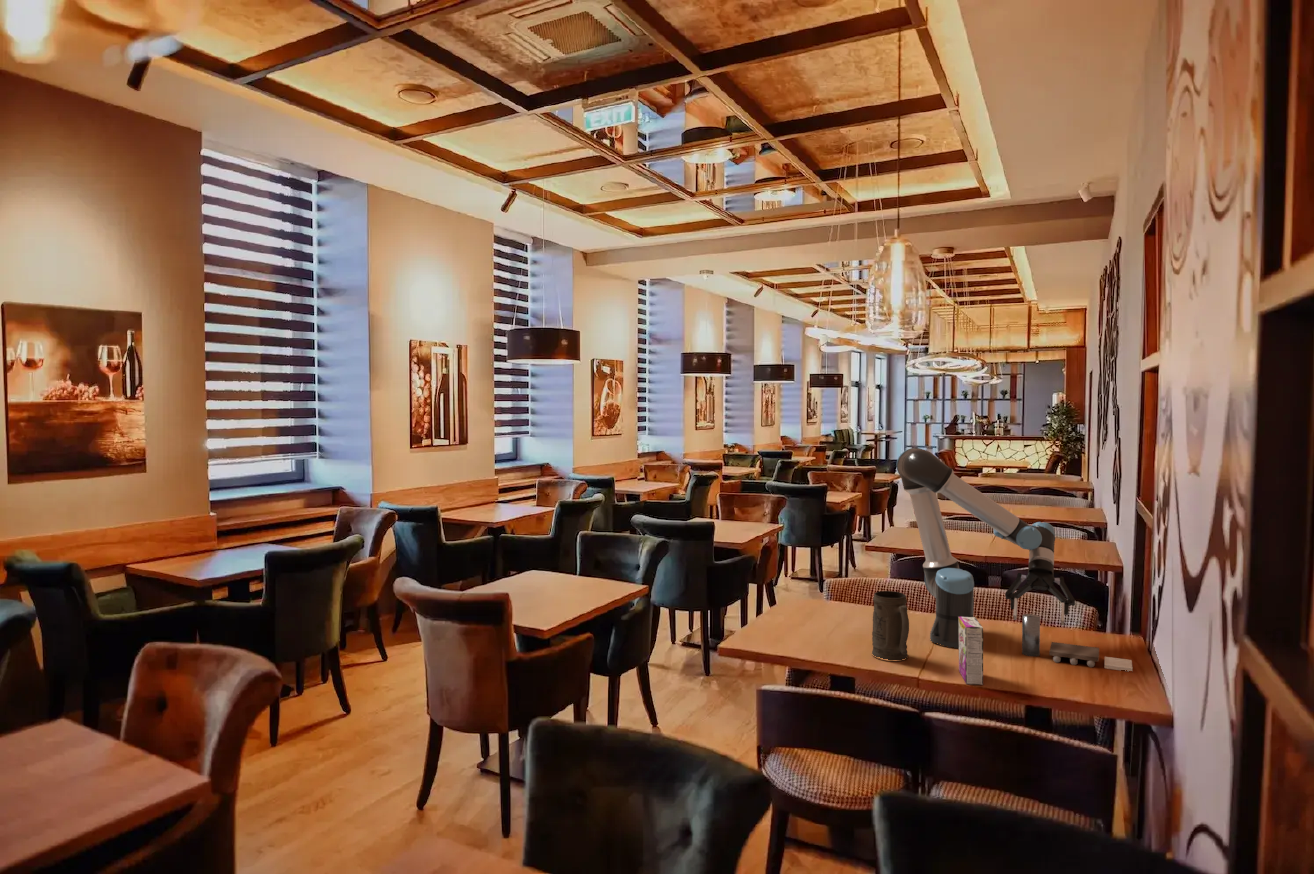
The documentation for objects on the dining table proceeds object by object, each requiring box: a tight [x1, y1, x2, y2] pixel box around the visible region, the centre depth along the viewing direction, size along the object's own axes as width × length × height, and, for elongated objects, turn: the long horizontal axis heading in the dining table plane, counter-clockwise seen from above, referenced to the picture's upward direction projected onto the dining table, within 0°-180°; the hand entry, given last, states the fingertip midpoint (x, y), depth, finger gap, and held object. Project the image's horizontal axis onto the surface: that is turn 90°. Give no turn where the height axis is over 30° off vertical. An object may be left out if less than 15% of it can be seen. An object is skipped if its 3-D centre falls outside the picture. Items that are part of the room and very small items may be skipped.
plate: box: [1104, 656, 1133, 672], centre depth 230 cm, size 7×9×1 cm
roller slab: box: [1048, 641, 1100, 668], centre depth 236 cm, size 13×11×3 cm
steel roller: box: [1021, 613, 1041, 658], centre depth 242 cm, size 5×5×12 cm
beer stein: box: [871, 590, 910, 660], centre depth 238 cm, size 15×11×20 cm
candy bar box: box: [958, 616, 984, 686], centre depth 220 cm, size 11×5×16 cm, turn 168°
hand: (1038, 620), depth 245 cm, fingers open, 13 cm apart
